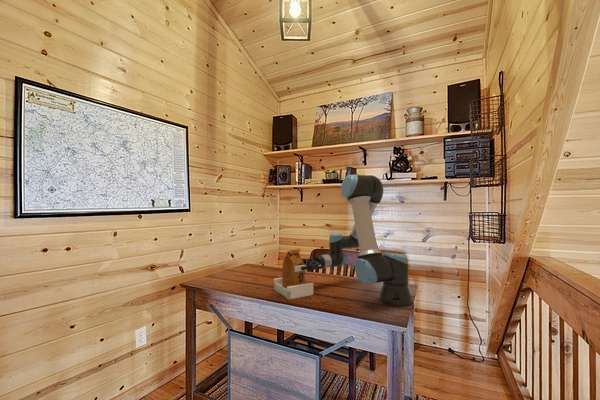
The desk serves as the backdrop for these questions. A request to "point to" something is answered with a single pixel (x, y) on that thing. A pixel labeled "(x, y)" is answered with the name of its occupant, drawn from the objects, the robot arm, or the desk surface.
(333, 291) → the desk surface
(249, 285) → the desk surface
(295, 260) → the coffee package
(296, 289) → the tray
